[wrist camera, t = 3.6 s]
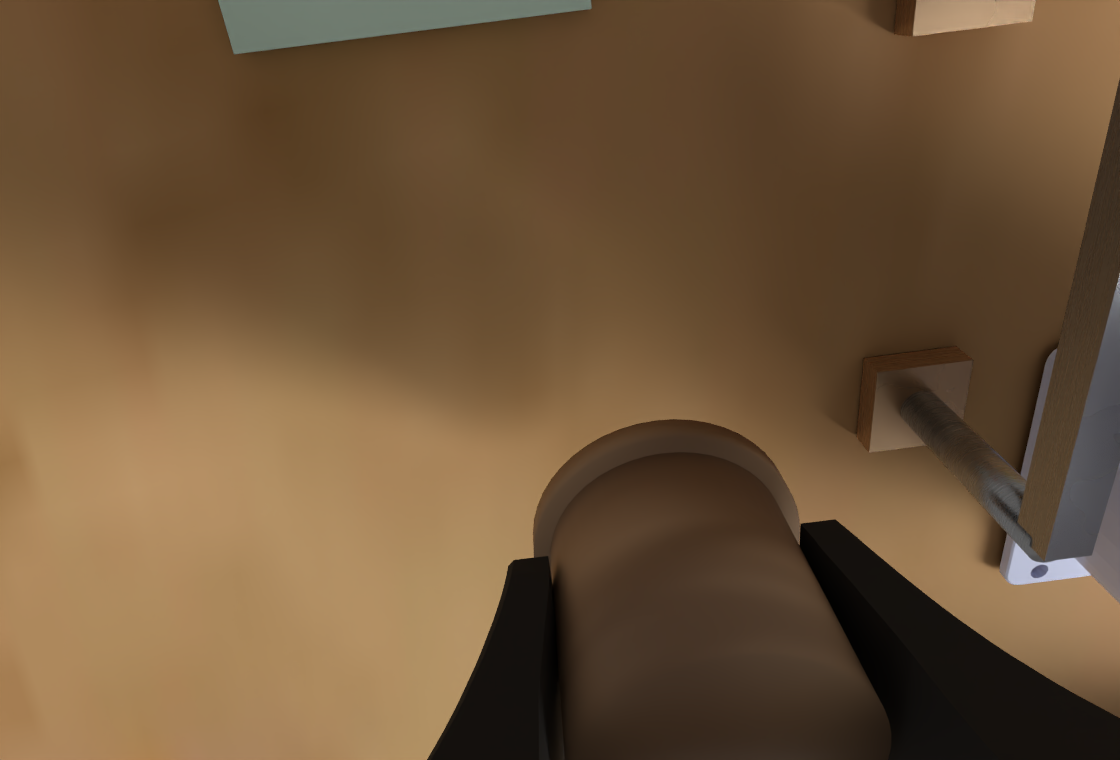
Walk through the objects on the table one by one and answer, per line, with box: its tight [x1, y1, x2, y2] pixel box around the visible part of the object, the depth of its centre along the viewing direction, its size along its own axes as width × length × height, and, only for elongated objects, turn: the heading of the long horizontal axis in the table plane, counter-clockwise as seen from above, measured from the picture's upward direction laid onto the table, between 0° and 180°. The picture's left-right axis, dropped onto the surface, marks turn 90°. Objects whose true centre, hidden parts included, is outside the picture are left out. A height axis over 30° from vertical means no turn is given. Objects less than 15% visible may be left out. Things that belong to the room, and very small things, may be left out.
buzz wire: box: [856, 0, 1120, 563], centre depth 12 cm, size 7×20×6 cm, turn 6°
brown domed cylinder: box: [533, 419, 891, 760], centre depth 12 cm, size 5×5×5 cm
